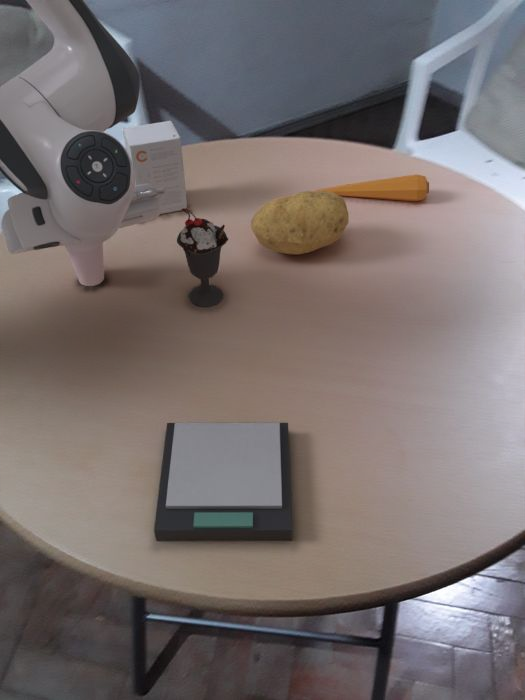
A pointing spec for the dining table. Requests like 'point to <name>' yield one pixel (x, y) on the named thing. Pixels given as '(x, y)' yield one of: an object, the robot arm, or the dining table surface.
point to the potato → (301, 222)
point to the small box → (158, 161)
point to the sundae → (203, 257)
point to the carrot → (387, 188)
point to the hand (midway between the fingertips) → (80, 232)
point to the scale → (225, 483)
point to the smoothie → (87, 263)
